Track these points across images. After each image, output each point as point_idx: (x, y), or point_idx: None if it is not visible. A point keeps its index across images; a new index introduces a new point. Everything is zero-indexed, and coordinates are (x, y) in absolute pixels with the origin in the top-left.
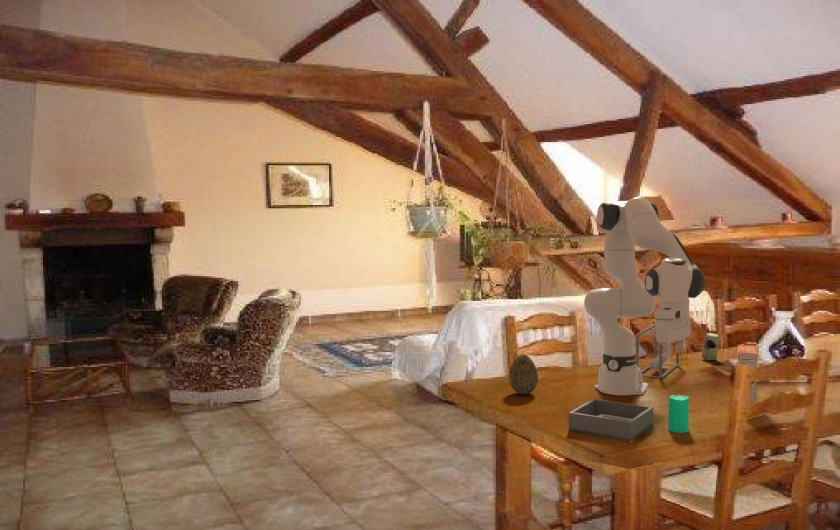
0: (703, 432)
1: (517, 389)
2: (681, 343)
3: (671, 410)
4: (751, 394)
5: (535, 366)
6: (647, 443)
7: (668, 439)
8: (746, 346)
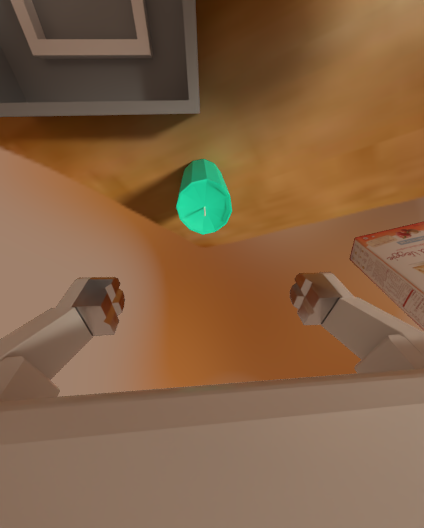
0: None
1: None
2: (354, 341)
3: (181, 184)
4: (373, 276)
5: None
6: (64, 157)
7: (127, 186)
8: None
